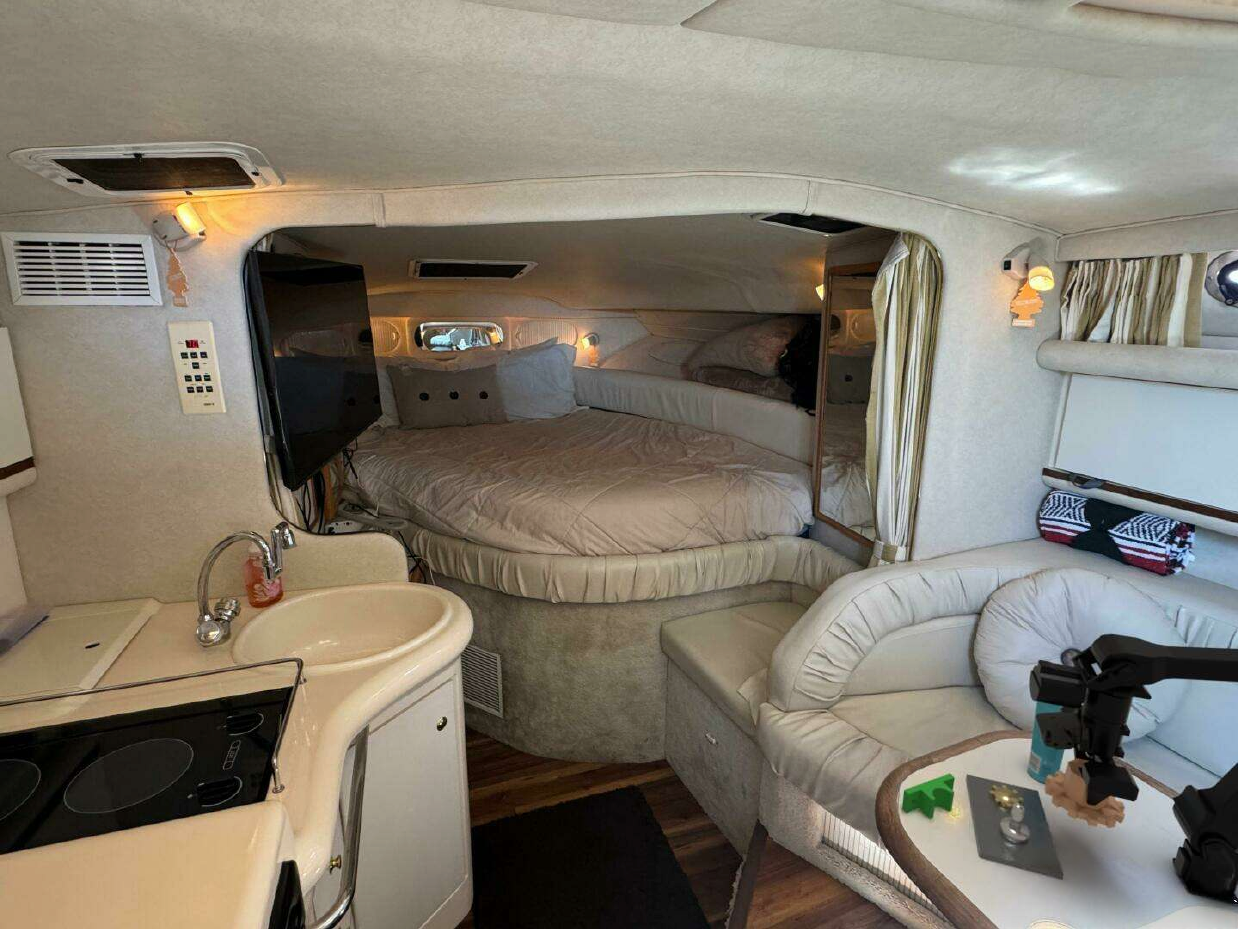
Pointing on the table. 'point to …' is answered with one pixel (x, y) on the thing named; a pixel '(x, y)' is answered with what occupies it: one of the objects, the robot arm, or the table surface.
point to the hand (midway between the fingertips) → (1085, 791)
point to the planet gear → (1081, 797)
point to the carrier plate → (1001, 846)
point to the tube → (1043, 749)
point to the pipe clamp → (930, 795)
